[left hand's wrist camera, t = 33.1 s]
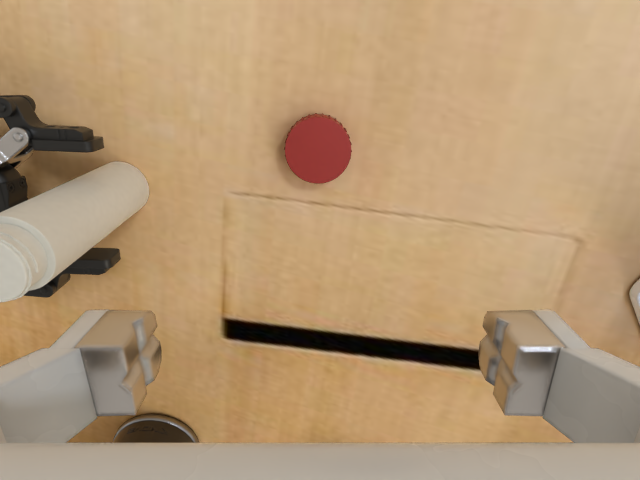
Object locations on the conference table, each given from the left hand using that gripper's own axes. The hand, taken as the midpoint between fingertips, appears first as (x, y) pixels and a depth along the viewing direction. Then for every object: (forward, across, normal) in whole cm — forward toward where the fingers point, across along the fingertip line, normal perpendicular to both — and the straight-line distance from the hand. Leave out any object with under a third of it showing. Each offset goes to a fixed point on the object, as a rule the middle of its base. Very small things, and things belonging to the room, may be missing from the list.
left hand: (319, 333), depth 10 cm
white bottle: (+26, +17, +3) cm, 31 cm away
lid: (+24, 0, 0) cm, 25 cm away
